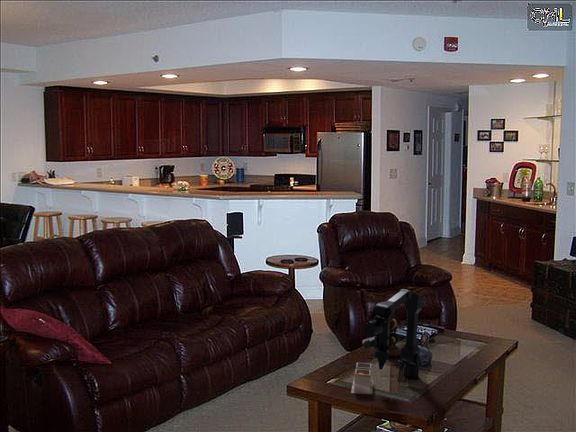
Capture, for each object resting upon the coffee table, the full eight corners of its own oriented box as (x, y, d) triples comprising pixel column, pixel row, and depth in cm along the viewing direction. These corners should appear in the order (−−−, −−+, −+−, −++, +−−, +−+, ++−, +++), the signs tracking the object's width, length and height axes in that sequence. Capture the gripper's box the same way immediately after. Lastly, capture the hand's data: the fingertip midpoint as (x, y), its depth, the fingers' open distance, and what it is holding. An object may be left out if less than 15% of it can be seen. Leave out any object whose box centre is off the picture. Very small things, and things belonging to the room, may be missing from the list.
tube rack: (353, 379, 299) (354, 361, 298) (373, 381, 297) (374, 363, 296) (351, 394, 281) (351, 374, 280) (371, 396, 280) (372, 376, 279)
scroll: (382, 348, 348) (384, 311, 346) (408, 353, 341) (410, 316, 339) (371, 355, 336) (373, 317, 334) (398, 360, 328) (400, 322, 326)
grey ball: (385, 368, 286) (385, 360, 286) (385, 371, 282) (385, 362, 282) (376, 368, 287) (376, 359, 286) (376, 371, 283) (376, 362, 282)
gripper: (364, 325, 293) (362, 359, 295) (363, 337, 274) (361, 373, 276) (389, 327, 291) (387, 361, 293) (389, 339, 273) (388, 375, 275)
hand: (380, 367), depth 284 cm, fingers closed on grey ball, 4 cm apart
